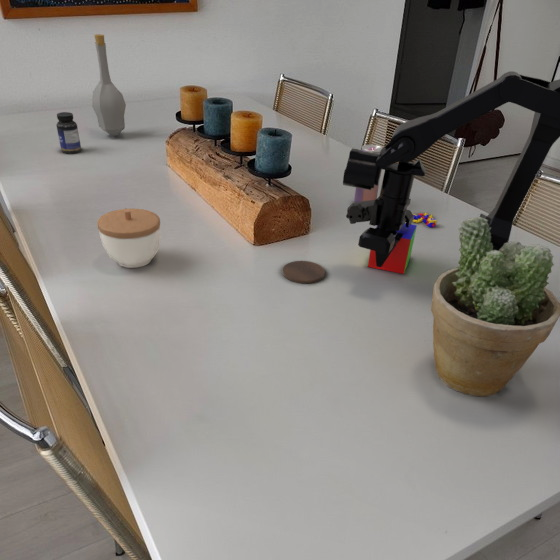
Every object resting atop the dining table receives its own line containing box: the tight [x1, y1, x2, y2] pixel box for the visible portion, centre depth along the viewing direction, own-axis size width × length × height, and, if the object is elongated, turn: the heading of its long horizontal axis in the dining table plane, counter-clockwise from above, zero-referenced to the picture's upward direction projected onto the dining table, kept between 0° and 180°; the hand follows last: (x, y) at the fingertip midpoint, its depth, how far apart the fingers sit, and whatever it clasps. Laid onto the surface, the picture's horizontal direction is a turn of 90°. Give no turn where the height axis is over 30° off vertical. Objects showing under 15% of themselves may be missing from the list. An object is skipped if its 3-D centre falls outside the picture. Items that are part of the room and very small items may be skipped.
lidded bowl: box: [96, 208, 161, 269], centre depth 114 cm, size 13×13×11 cm
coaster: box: [282, 260, 326, 284], centre depth 116 cm, size 9×9×1 cm
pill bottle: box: [55, 111, 82, 155], centre depth 170 cm, size 6×6×11 cm
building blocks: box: [412, 212, 438, 228], centre depth 141 cm, size 6×8×2 cm
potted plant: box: [430, 216, 560, 397], centre depth 83 cm, size 18×19×25 cm
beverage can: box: [353, 144, 384, 203], centre depth 143 cm, size 6×6×15 cm
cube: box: [367, 222, 418, 275], centre depth 119 cm, size 8×8×8 cm
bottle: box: [91, 33, 127, 137], centre depth 178 cm, size 11×11×30 cm
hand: (378, 266), depth 115 cm, fingers closed
